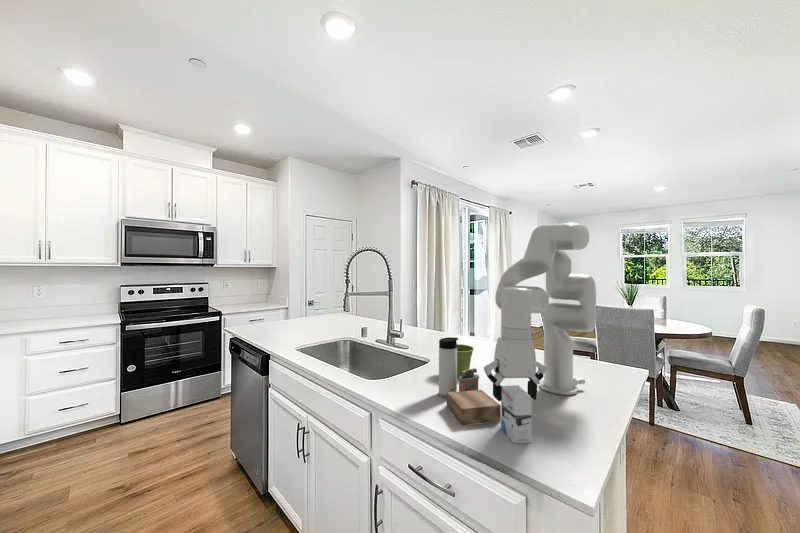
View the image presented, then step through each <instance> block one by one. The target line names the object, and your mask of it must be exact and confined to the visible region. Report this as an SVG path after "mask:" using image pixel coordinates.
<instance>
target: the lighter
mask: <svg viewBox="0 0 800 533" xmlns="http://www.w3.org/2000/svg"><path fill="white" fill-rule="evenodd" d="M476 373H478V369H477V368H475V367H474V368H469V369H465V370H464V371H462V376H461V377H457V381H458V392H460V391H472V390H479V379H480V375H479V374H476Z"/></svg>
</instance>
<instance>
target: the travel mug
mask: <svg viewBox="0 0 800 533" xmlns="http://www.w3.org/2000/svg"><path fill="white" fill-rule="evenodd" d="M457 341H459V338H458V337H444V338H443V337H442V338H440V339H439V341H438V342H439V343H438V344H439V345H438V395H439V396H440V397H442V398H445V399H447V392H458V377H457V344H458V342H457Z"/></svg>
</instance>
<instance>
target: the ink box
mask: <svg viewBox="0 0 800 533" xmlns="http://www.w3.org/2000/svg"><path fill="white" fill-rule="evenodd" d="M501 386H502V401H500V405H501V422H500V428H502V430H503V432H505V434H506V435H507V436H508V437H509V439H510V440H511V441H512V442H513V444H526V443H527V444H529V443H530V444H532V434H533V433H532V398H531V396H530V395H529V394H528V392H526V391H525V389H523V388H522V387H521V386H520V385H518V384H517V385H516V384H514V385H513V384H512V385H501Z"/></svg>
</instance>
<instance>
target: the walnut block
mask: <svg viewBox="0 0 800 533" xmlns="http://www.w3.org/2000/svg"><path fill="white" fill-rule="evenodd" d="M446 408H447V409H448V411H449V412H450V413H451V415H454V416H453V417H454V418H455V419H456V420H457V422H458V423H459V425H461V426H470V425H473V426H474V425H480V424H488V423H489V424H490V423H498V422H500V423H501V403H500V404H499V403H498V402H497V401H496V400H495V399H494V398H492V397H491V396H490V395H489V394H488V393H486V392H485V391H483V390H482V389H478V390H472V391H460V392H459V391H457V392H447V398H446Z"/></svg>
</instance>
